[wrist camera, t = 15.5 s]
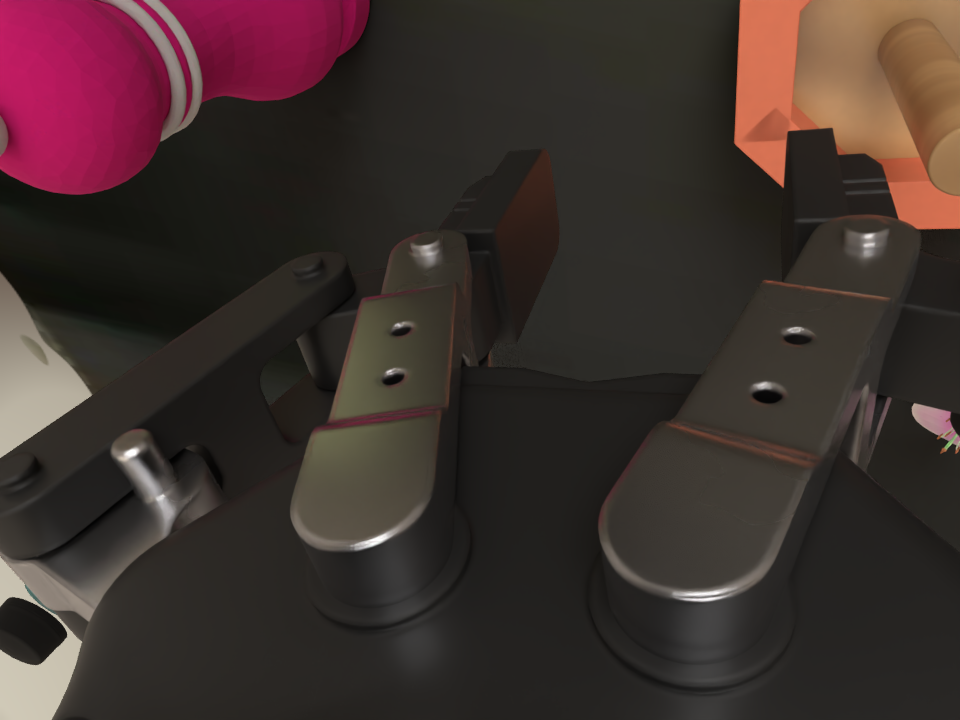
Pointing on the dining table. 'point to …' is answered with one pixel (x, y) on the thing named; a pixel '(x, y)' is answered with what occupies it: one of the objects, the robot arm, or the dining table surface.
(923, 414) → the lily
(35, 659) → the beverage bottle
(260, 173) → the dining table surface
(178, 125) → the pepper mill
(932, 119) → the peg stand
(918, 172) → the ring
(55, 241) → the dining table surface
